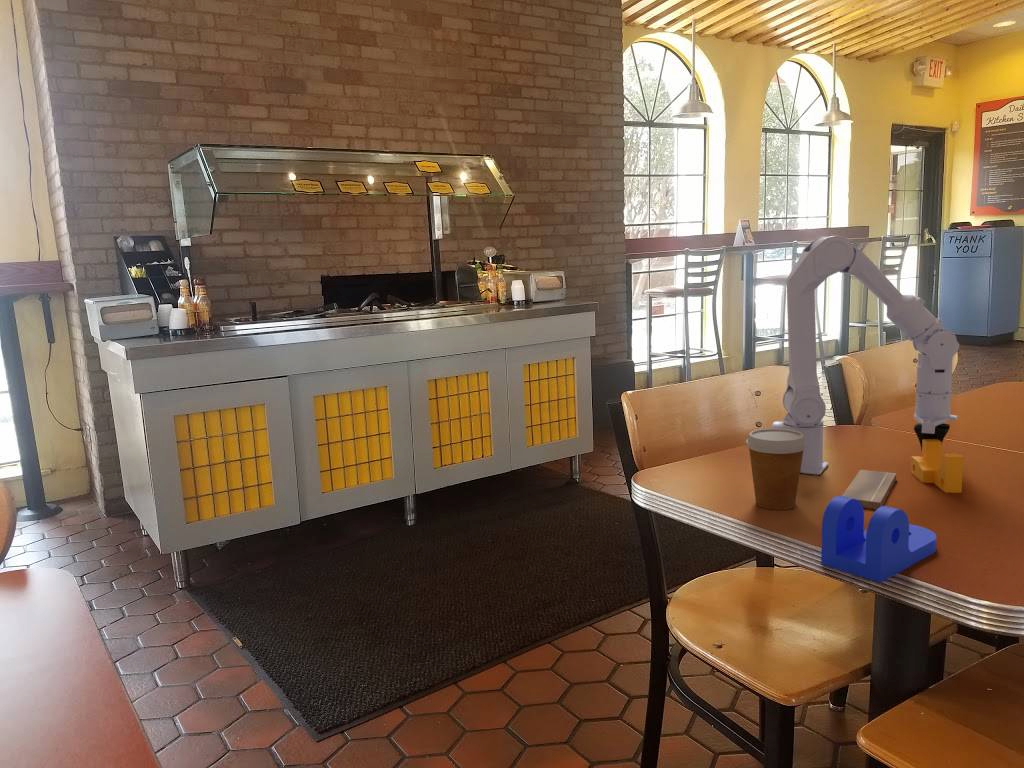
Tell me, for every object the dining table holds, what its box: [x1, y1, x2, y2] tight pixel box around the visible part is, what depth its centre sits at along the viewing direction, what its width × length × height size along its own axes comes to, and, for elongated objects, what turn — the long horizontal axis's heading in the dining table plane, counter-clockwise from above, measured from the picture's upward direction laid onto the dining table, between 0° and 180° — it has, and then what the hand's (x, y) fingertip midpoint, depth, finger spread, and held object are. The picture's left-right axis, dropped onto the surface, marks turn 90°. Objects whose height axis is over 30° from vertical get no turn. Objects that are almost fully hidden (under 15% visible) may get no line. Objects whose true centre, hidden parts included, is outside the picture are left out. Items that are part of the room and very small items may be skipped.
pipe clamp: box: [910, 439, 964, 494], centre depth 139 cm, size 12×4×6 cm, turn 171°
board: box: [841, 469, 897, 510], centre depth 136 cm, size 6×18×1 cm, turn 147°
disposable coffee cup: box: [745, 428, 807, 511], centre depth 131 cm, size 10×10×12 cm
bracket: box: [820, 495, 937, 584], centre depth 108 cm, size 18×8×9 cm, turn 127°
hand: (930, 462), depth 147 cm, fingers closed
